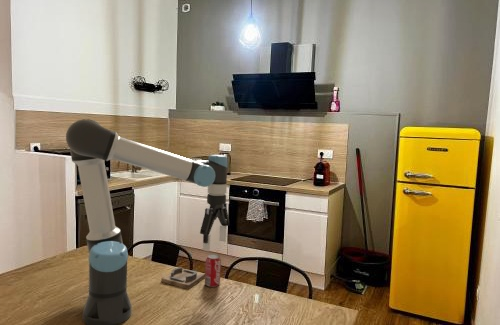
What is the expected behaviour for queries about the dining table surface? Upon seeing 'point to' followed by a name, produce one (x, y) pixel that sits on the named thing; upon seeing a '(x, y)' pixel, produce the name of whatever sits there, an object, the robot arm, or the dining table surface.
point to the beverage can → (212, 270)
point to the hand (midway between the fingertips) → (214, 245)
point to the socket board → (183, 277)
